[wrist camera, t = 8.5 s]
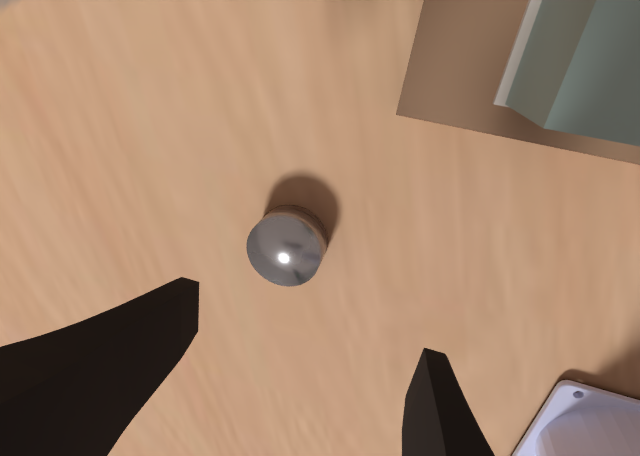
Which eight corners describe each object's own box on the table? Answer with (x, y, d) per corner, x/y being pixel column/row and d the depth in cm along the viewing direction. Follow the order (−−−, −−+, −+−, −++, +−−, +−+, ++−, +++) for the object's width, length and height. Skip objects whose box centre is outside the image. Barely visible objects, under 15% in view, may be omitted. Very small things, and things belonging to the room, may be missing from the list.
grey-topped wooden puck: (333, 213, 20) (325, 229, 19) (322, 275, 22) (313, 294, 20) (263, 196, 21) (249, 210, 19) (258, 258, 23) (244, 275, 21)
